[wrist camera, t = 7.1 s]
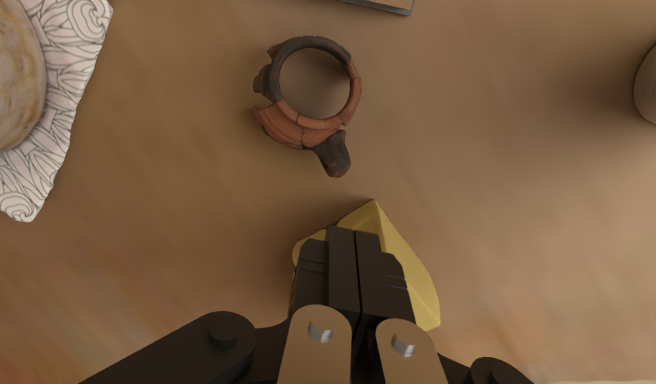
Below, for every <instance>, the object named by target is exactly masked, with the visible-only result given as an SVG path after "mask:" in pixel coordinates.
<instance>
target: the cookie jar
mask: <svg viewBox="0 0 656 384" xmlns="http://www.w3.org/2000/svg"><path fill="white" fill-rule="evenodd" d="M112 14H113V8H112V7H111V5H110V4H109V2H108V1H107V0H0V210H1V211H4V212H5V213H7V214H8V215H9V217H10V218H12V219H14V220H17V221H21V222H31V221H32V220H33V219H34V218H35V216H36V215H37V214H38V213H39V211H40V210H41V208H42V206H43V204H44V201H45V199H46V197H47V196H48V194H49V191H50V190H51V189H52V188H53V187H54V186H53V180H54V178H55V176H56V174H57V171H58V169H59V168H60V167H61V166H62V164H63V162H64V159H65V156H66V153H67V150H68V147H69V145H70V134H71V126H72V123H73V121H74V118H75V115H76V107H77V105H78V103H79V101H80V99H81V97H82V95H83V92H84V89H85V87H86V85H87V83H88V81H89V79H90V77H91V75H92V73H93V70H94V66H95V62H96V58H97V56H98V54H99V51H100V50H101V48H102V46H103V42H104V39H105V33H106V31H107V28H108V25H109V22H110V20H111V17H112Z"/></svg>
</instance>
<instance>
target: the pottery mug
mask: <svg viewBox="0 0 656 384" xmlns="http://www.w3.org/2000/svg"><path fill="white" fill-rule="evenodd" d="M305 48H315V49H319V50H323V51H326V52H328V53H330V54H331V55H333V56H334V57H335V58H336V59H337V60H339V61H340V62H341V64H342V65H343V66H345V69H346V71H347V73H348V75H349V77H350V93H349V98H348V100H347V103H346V104H345V106H344V107H343V109H342V110H341V111H340V112H338V113H337V114H336V115H334V116H332V117H330V118H326V119H312V118H308V117H305V116H303V115H301V114H299V113H298V112H296V111H295V110H294V109H292V108H291V107H290V105H289V104H288V103H287V102H286V100H285V99H284V98H283V96H282V93H281V90H280V85H279V75H280V70H281V67H282V64H283V63H284V61H285V60H286V58H287V57H288V56H290V55H291V54H292V53H294V52H296V51H298V50H301V49H305ZM267 52H268V54H269V55H270V57H271V59H272V63H271V64H268V65H265V66H264V67H263V68H262V69H261V70H260V72H259V75H258V76H256V77H255V78H254V83H253V90H254V92H255V93H259V92H260V93H261V94H262V95H263V96H265V97H267V98H268V99H269V100H271V101H272V102H273V104H272V105H269V106H268V107H266V108H263V109H260V108H259V107H258V106H257V105H256V106H254V107H253V111H254V115H255V117H256V119H257V121H258V123H259V125H260V127H261V128H262V130H263V131H264V132H265V133H266V134H267V135H268V136H270V137H271V138H273V139H274V140H276V141H278V142H280V143H282V144H284V145H287V146H289V147H292V148H296V149H302V150H312V151H313V152H315V153H316V154H317V155H318V157H319V159H320V161H321V163H322V165H323V167H324V169H325V171H326V172H327V174H328V175H329V176H330V177H335V178H339V177H341V176H343V175H344V174H345V173H346V172H347V171H348V169H349V168H350V165H351V162H350V158H349V154H348V151H347V148H346V146H345V141H344V139H345V135H346V132H345V131H344V130H338V128H339V126H340V125H341V124H343V125H344V126H347V124H348V123H349V121H350V120H351V118H352V116H353V113H354V112H355V109H356V107H357V105H358V102H359V99H360V94H361V79H360V77H359V74H358V72H357V69H356V67H355V66H354V64H353V62H352V61H351V55H350V54H349V53H348V52H347V51H346V50H345V49H344V48H343V47H342V46H340V45H338V44H337V43H336V42H334V41H332V40H330V39H328V38H324V37H318V36H317V37H314V36H303V37H295V38H292V39H289V40H287V41H285V42H283V43H280V44H278V45H276V46H273V47H272V48H270V49H268V50H267Z"/></svg>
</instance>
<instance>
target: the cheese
mask: <svg viewBox="0 0 656 384" xmlns="http://www.w3.org/2000/svg"><path fill="white" fill-rule="evenodd" d="M336 226H338V227H343V228H348V229H353V230H359V231H364V232H369V233H374V234H378V235H379V239H380V245H381V250H382V252H386V253H391V254H393V255H394V256H395V257H396V259H397V260H398V261H399V262H400V264H401V265H402V267H403V271H404V275H405V280H406V284H407V290H408V292H409V296H410V300H411V304H412V308H413V312H414V316H415V320H416V324H417V326H419V327H420V328H422V329H423V330H424V331H425V332H426V331H428V330H430V329H432V328H435V327H437V326H439V325H440V308H439V301H438V297H437V293H436V290H435V288H434V285H433V282H432V280H431V277H430V275H429V273H428V272H427V270H426V268H425V267H424V265H423V264H422V262H421V261H420V260H419V258H418V257H417V256H416V254H415V253H414V252H413V250H412V249H411V247H410V246H409V245H408V244H407V242H406V241H405V240H404V239H403V238H402V236H401V235H400V234H399V233H398V231H397V230H396V229H395V228H394V226H393V225H392V223H391V222H390V221H389V219H388V218H387V216H386V215H385V213H384V212H383V210H382V209H381V208H380V206H379V205H378V203H377V202H376V200H371V201H369V202H368V203H366V204H364V205H363V206H361V207H359V208H358V209H356V210H354V211H353V212H351V213H350V214H348V215H347V216H345V217H344V218H342V219H341V220H340V222H339V223H338V224H337V225H336ZM326 231H327V230H326V229H322V230H320V231H318V232H316V233H314V234H312V235H310V236H308V237H306V238H304V239H302V240H300V241H298V242H297V243H296V244H295V246H294V248H293V251H292V259H293V262H294V264H295V266H296V265H297V261H298V256H299V252H300V247H301V246H302V245H303V244H304V243H305V242H306V241H307V239H308V238H311V239H317V240H322V241H324V238H325V235H326ZM294 274H295V272H294V273H293V277H292V283H293V278H294Z"/></svg>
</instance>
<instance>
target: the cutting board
mask: <svg viewBox="0 0 656 384" xmlns="http://www.w3.org/2000/svg"><path fill="white" fill-rule="evenodd" d="M339 1H343V2H348V3H352V4H357V5H362V6H366V7H371V8H375V9H380V10H385V11H389V12H394V13H398V14H403V15H408V16H410V15H411V12H412V8H413V4H414V0H339Z"/></svg>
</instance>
